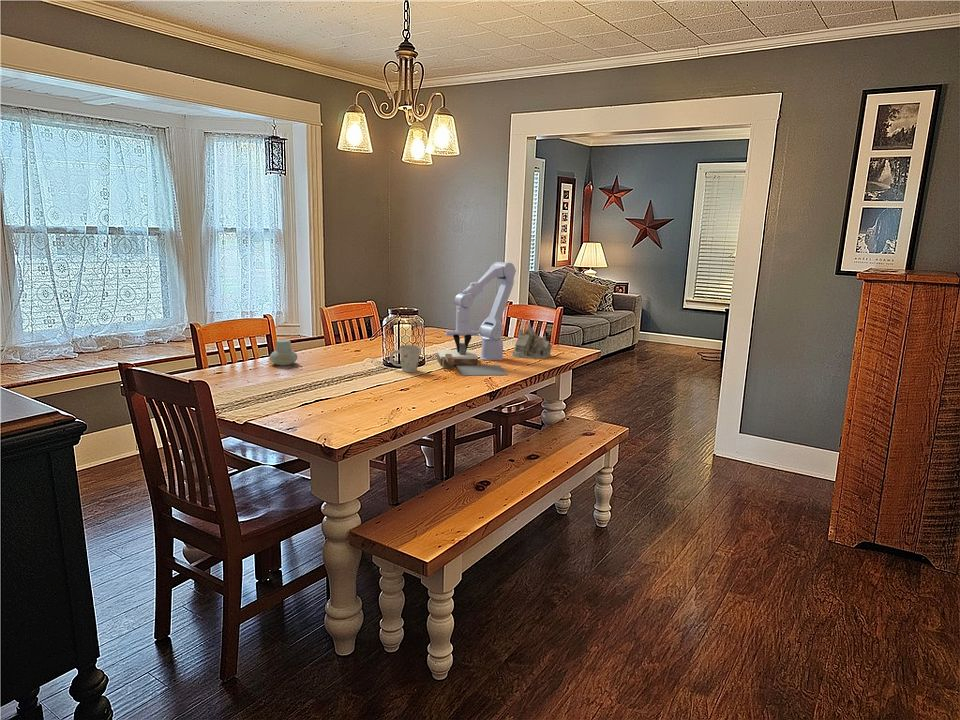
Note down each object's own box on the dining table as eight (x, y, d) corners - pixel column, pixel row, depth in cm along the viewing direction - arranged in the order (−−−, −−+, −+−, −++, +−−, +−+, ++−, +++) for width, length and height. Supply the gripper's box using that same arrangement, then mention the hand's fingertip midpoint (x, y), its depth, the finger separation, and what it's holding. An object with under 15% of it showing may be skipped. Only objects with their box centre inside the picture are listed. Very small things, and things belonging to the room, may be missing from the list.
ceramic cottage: (507, 354, 299) (511, 323, 295) (530, 351, 310) (534, 321, 307) (531, 362, 288) (536, 330, 285) (554, 359, 300) (559, 328, 296)
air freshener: (297, 361, 270) (296, 338, 268) (298, 366, 262) (297, 342, 260) (270, 362, 266) (269, 339, 264) (270, 367, 259) (269, 342, 257)
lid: (472, 353, 288) (472, 341, 286) (477, 360, 274) (478, 347, 273) (437, 353, 285) (437, 341, 283) (440, 360, 271) (441, 347, 270)
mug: (418, 373, 257) (418, 349, 255) (387, 372, 257) (387, 348, 255) (420, 368, 265) (421, 345, 263) (390, 367, 265) (391, 344, 263)
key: (450, 358, 268) (451, 353, 267) (453, 362, 260) (453, 358, 260) (445, 358, 267) (445, 353, 267) (447, 362, 259) (448, 358, 259)
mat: (499, 365, 276) (499, 365, 276) (508, 375, 260) (508, 374, 260) (456, 366, 272) (456, 365, 272) (462, 375, 256) (462, 374, 256)
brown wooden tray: (472, 358, 288) (472, 349, 287) (480, 368, 269) (480, 359, 268) (436, 358, 285) (437, 350, 284) (442, 368, 266) (442, 359, 265)
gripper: (477, 319, 282) (476, 349, 284) (444, 319, 279) (444, 350, 282) (480, 322, 275) (479, 353, 278) (447, 322, 272) (446, 353, 275)
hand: (461, 351), depth 279 cm, fingers closed on lid, 2 cm apart
